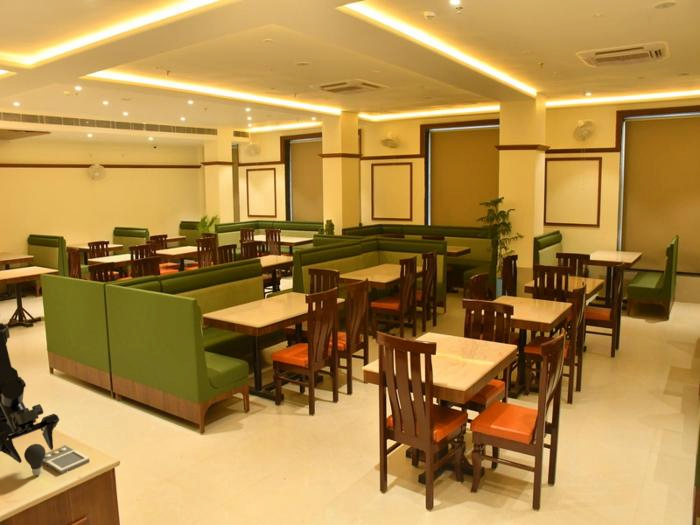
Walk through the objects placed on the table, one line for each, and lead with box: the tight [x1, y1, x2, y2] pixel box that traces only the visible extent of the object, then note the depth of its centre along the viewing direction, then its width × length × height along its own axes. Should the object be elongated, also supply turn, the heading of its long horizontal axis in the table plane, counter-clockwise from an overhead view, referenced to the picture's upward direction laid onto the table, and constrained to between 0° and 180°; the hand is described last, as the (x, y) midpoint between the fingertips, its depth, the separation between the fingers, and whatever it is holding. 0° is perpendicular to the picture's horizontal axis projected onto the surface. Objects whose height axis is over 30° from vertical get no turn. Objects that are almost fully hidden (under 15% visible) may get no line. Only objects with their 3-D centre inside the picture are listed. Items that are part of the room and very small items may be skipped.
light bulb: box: [23, 443, 46, 477], centre depth 174 cm, size 6×6×10 cm
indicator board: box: [42, 445, 90, 475], centre depth 183 cm, size 15×9×1 cm, turn 53°
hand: (36, 455), depth 173 cm, fingers open, 9 cm apart
